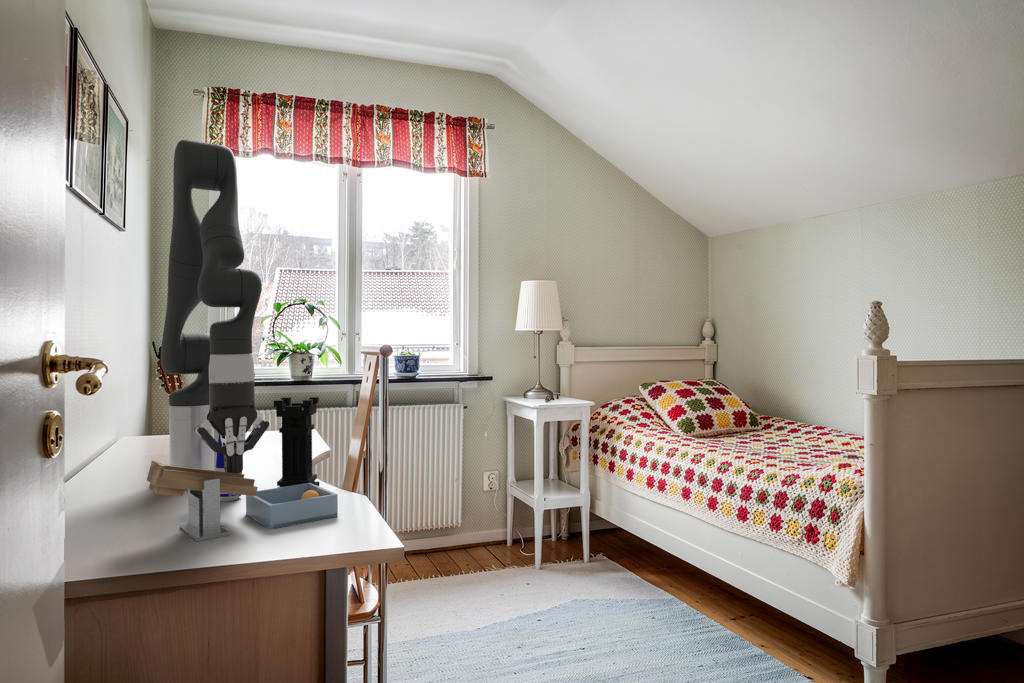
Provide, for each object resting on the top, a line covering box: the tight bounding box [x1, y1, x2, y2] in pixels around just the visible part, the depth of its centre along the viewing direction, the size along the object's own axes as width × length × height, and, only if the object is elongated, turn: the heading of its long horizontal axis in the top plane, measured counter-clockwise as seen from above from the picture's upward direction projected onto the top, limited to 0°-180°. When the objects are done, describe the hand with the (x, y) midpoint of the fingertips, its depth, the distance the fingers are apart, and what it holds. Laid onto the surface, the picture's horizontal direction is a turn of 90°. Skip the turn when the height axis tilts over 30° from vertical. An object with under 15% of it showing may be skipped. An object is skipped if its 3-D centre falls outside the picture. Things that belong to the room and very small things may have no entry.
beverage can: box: [214, 429, 243, 502], centre depth 134 cm, size 5×5×15 cm
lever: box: [146, 459, 258, 497], centre depth 114 cm, size 11×16×4 cm
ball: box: [301, 490, 320, 500], centre depth 124 cm, size 3×3×3 cm
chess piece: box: [273, 396, 320, 488], centre depth 135 cm, size 8×8×20 cm
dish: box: [245, 483, 339, 530], centre depth 122 cm, size 12×12×4 cm
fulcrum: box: [179, 478, 230, 542], centre depth 112 cm, size 10×5×10 cm, turn 40°
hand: (233, 475), depth 120 cm, fingers closed
